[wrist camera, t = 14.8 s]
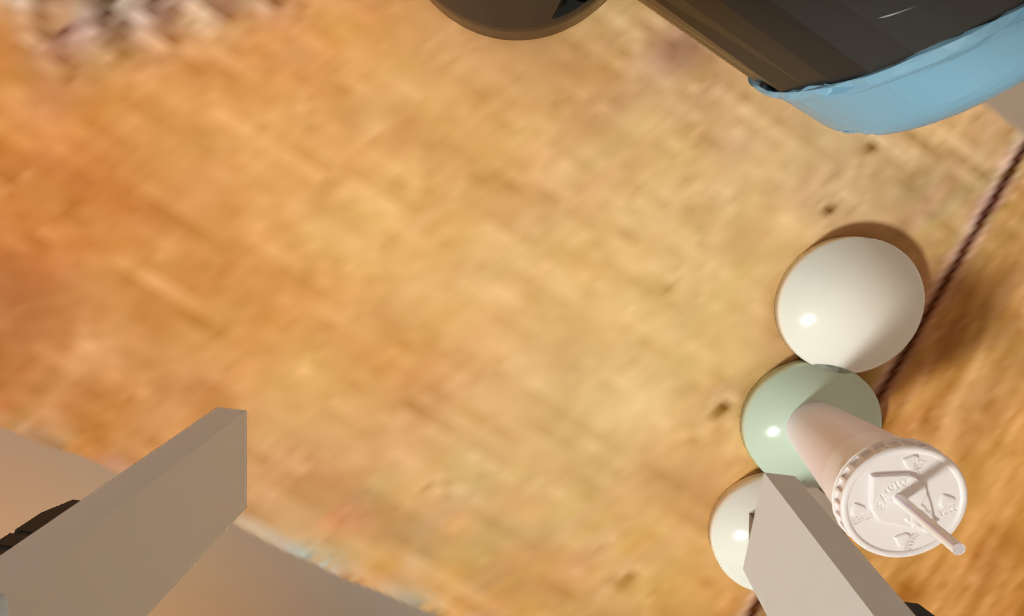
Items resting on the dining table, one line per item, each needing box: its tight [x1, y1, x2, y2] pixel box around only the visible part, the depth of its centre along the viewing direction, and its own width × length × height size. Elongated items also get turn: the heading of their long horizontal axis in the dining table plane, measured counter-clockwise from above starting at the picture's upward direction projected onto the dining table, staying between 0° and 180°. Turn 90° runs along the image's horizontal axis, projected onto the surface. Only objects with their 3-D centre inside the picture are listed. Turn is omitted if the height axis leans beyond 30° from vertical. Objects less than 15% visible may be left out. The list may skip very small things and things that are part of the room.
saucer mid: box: [740, 359, 882, 488], centre depth 39 cm, size 9×9×1 cm
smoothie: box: [786, 402, 967, 557], centre depth 32 cm, size 6×6×14 cm
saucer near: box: [774, 236, 925, 374], centre depth 37 cm, size 9×9×1 cm
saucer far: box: [708, 472, 843, 591], centre depth 41 cm, size 9×9×1 cm
